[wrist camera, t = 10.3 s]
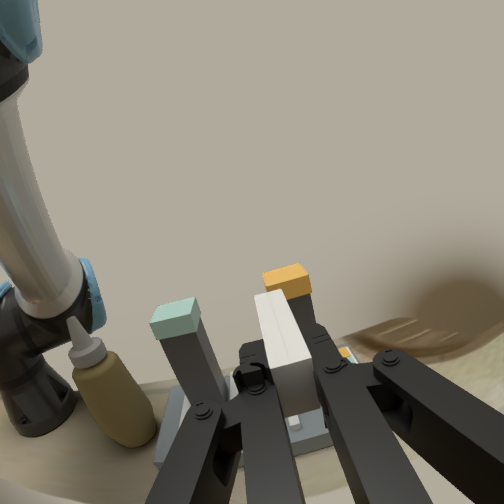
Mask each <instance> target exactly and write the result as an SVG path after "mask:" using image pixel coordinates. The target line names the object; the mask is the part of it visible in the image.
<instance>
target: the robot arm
mask: <svg viewBox="0 0 504 504" xmlns="http://www.w3.org/2000/svg"><path fill="white" fill-rule="evenodd" d="M41 53H42V36H41V29H40V18H39V10H38V0H0V265H1V266H2V267H3V269H4V270H5V272H6V273H7V274H8V276H9V277H10V278H11V280H12V281H13V283H14V284H15V287H13V288H12V285H11V284H10V283H9V281H5V282H3V283H2V284H0V394H1V397H2V400H3V403H4V405H5V408H6V411H7V413H8V416H9V419H10V421H11V423H12V424H13V425H14V427H15V428H16V429H17V431H18V432H19V433H20V434H22V435H24V436H39V435H42V434H45V433H47V432H49V431H51V430H53V429H54V428H56V427H57V426H59V425H60V424H61V423H62V422H63V421H64V420H65V419H66V418H67V417H68V416H69V415H70V413H71V412H72V410H73V408H74V406H75V403H76V395H75V393H74V391H73V389H72V388H71V386H70V385H69V384H68V383H67V382H66V380H64V379H63V378H62V377H61V376H60V375H59V374H58V373H57V372H56V371H55V370H53V368H52V367H51V366H49V365H48V363H47V362H46V361H45V359H44V357H43V355H42V353H44V352H46V351H48V350H51V349H53V348H55V347H58V346H60V345H63V344H65V343H67V342H70V341H72V340H71V337H70V333H69V329H68V325H67V321H66V320H67V319H68V318H69V317H71V316H75V317H76V318H77V320H78V321H79V322H80V324H81V325H82V327H83V328H84V329H85V331H86V332H87V333H88V335H89V334H92V333H93V331H95V330H97V329H99V328H101V327H103V326H104V325H105V323H106V320H107V319H106V318H107V317H106V311H105V307H104V304H103V301H102V298H101V294H100V290H99V287H98V284H97V281H96V278H95V275H94V272H93V269H92V267H91V264H90V262H89V260H88V259H86V258H78V259H77V257H76V256H75V255H74V254H73V253H72V252H70V251H68V250H66V249H63V248H62V246H61V244H60V242H59V239H58V237H57V235H56V232H55V230H54V227H53V225H52V223H51V220H50V217H49V215H48V212H47V209H46V207H45V204H44V201H43V198H42V195H41V193H40V190H39V187H38V184H37V180H36V177H35V174H34V172H33V168H32V164H31V161H30V157H29V154H28V150H27V146H26V143H25V139H24V135H23V130H22V126H21V121H20V117H19V112H18V107H17V99H18V97H19V96H20V94H21V92H22V91H23V89H24V88H25V86H26V85H27V83H28V81H29V73H28V63H31V62H33V61H34V60H35V59H36V58H38V57H39V56H40V55H41ZM254 297H255V302H256V307H257V312H258V316H259V321H260V326H261V330H262V335H263V339H261V340H257V341H253V342H249V343H245V344H243V345H242V347H241V348H240V350H239V358H240V366H238V367H237V368H236V369H235V370H234V371H233V375H232V377H233V379H234V382H235V384H236V387H237V390H238V392H239V393H238V394H237V396H235V397H234V398H233V399H231V400H229V401H227V402H225V403H223V404H221V405H219V403H217V402H215V401H212V400H204V401H200V402H198V403H195V404H194V405H192V406H191V407H190V408H189V409H188V411H187V412H186V414H185V417H184V419H183V421H182V423H181V425H180V427H179V430H178V432H177V434H176V436H175V438H174V441H173V443H172V445H171V447H170V449H169V452H168V454H167V456H166V458H165V460H164V462H163V465H162V467H161V469H160V471H159V473H158V476H157V478H156V480H155V482H154V484H153V486H152V489H151V491H150V493H149V495H148V497H147V499H146V502H145V504H229V501H230V497H231V493H232V489H233V485H234V481H235V477H236V473H237V469H238V465H239V461H240V457H241V450H243V459H244V471H245V483H246V495H247V504H306V503H305V499H304V495H303V490H302V486H301V482H300V478H299V474H298V470H297V466H296V462H295V458H294V453H293V449H292V445H291V441H290V437H289V433H288V429H287V425H286V422H285V418H288V417H291V416H295V415H299V414H303V413H306V412H310V411H313V410H316V409H320V408H321V407H322V411H323V417H324V424H325V429H326V428H328V431H329V433H330V436H331V439H332V441H333V444H334V447H335V450H336V452H337V455H338V458H339V460H340V463H341V466H342V468H343V471H344V474H345V477H346V479H347V482H348V485H349V487H350V490H351V493H352V495H353V498H354V501H355V504H433V502H432V501H431V499H430V497H429V495H428V493H427V492H426V490H425V488H424V486H423V485H422V483H421V481H420V479H419V477H418V475H417V474H416V472H415V470H414V468H413V467H412V465H411V463H410V461H409V459H408V458H407V456H406V454H405V452H404V451H403V449H402V447H401V446H400V444H399V442H398V440H397V439H396V437H395V435H394V433H393V432H395V433H396V434H397V435H398V436H399V437H400V438H401V439H402V440H403V441H404V442H405V443H406V444H408V445H409V446H410V447H411V448H412V449H413V450H414V451H415V452H416V453H417V454H419V455H420V456H421V457H422V458H423V459H424V460H425V461H426V462H427V463H429V464H430V465H431V466H432V467H433V468H434V469H435V470H436V471H438V472H439V473H440V474H441V475H442V476H444V478H446V479H447V480H448V481H449V482H450V483H451V484H452V485H454V486H455V487H456V488H457V489H458V490H459V491H461V492H462V493H463V494H464V495H465V496H466V497H468V498H469V499H470V500H471V501H472V502H473V503H475V504H504V415H503V414H502V413H500V412H498V411H497V410H495V409H494V408H492V407H491V406H489V405H487V404H486V403H484V402H483V401H481V400H480V399H478V398H476V397H475V396H473V395H472V394H470V393H468V392H467V391H465V390H464V389H462V388H461V387H459V386H457V385H456V384H454V383H453V382H451V381H450V380H448V379H446V378H445V377H443V376H442V375H440V374H439V373H437V372H435V371H434V370H432V369H431V368H429V367H428V366H426V365H424V364H423V363H421V362H420V361H418V360H417V359H415V358H413V357H412V356H410V355H409V354H407V353H406V352H404V351H402V350H399V349H393V348H391V349H385V350H383V351H380V352H379V353H377V354H376V355H375V356H374V358H373V362H369V363H358V364H357V363H351V362H350V361H349V360H348V359H347V358H345V357H342V355H341V354H340V352H339V350H338V349H337V347H336V345H335V344H334V342H333V340H332V339H331V337H330V335H329V334H328V332H327V330H326V329H325V327H323V326H321V325H320V324H318V323H316V324H313V325H309V326H306V327H302V328H299V327H298V325H297V323H296V321H295V318H294V316H293V314H292V312H291V310H290V307H289V305H288V303H287V301H286V298H285V296H284V294H283V292H282V289H278V290H274V291H270V292H267V293H263V294H259V295H255V296H254ZM320 405H321V407H320ZM392 431H393V432H392Z"/></svg>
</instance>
